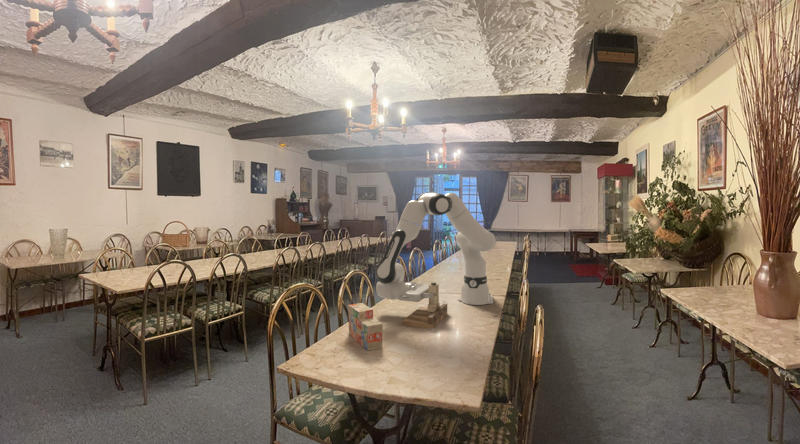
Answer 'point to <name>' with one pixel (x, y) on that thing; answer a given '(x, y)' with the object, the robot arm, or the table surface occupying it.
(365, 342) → the stack of blocks
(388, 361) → the table surface
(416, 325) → the fenced board
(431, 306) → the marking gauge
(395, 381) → the table surface
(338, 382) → the table surface
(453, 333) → the table surface
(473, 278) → the robot arm
